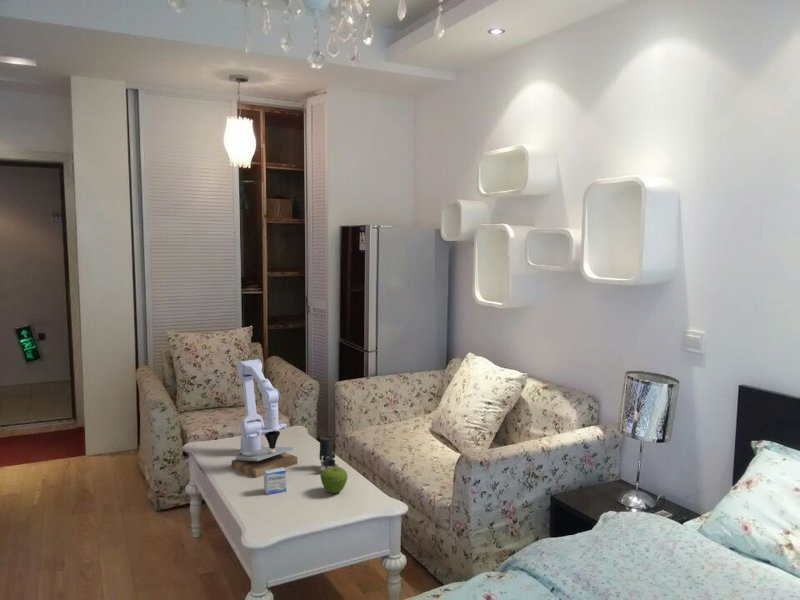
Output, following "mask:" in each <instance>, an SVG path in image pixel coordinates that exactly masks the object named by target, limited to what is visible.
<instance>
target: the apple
mask: <svg viewBox="0 0 800 600" xmlns="http://www.w3.org/2000/svg"><path fill="white" fill-rule="evenodd" d="M348 478H349V477H348V472H347V470H346V469H344V468H343V467H340V466H338V467H328V468H327V469H325V470H323V471H322V470H321V474H320V480H321V484H322V486H323V488H324V490H325V491H326V492H328V493H330V494H339V493H340V492H341V491H343V489H345V486H346V484H347V481H348ZM338 492H339V493H338Z"/></svg>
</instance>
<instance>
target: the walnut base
mask: <svg viewBox="0 0 800 600" xmlns="http://www.w3.org/2000/svg"><path fill="white" fill-rule="evenodd" d="M297 464H298V456H295V455H294V454H290V453H288V452H284V453H281V454H278V455H275V456H272V457H269V458H266V459H263V460H260V461H246V460H236V458H235V459H232V460H231V468H232V469H235V470H237V469H238V470H237V471H239V470H240V472H241V473H244V472H245V473H244V474H246V473H247V475H249V476H250V477H253V478H259V477H262V476H263V477H264V470H270V469H276V468H281V467H283V468H284V469H286V468H288V466H289V467H292V466H293V465H297ZM285 467H286V468H285Z"/></svg>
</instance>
